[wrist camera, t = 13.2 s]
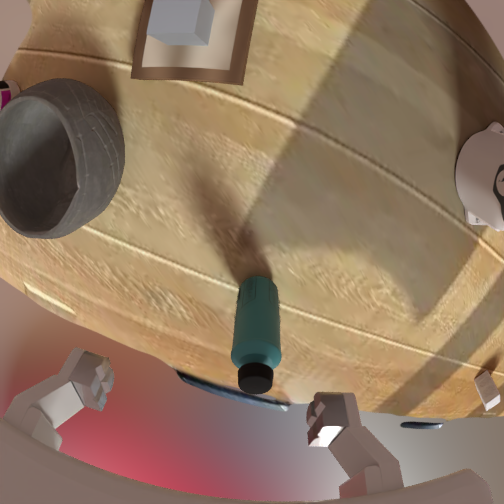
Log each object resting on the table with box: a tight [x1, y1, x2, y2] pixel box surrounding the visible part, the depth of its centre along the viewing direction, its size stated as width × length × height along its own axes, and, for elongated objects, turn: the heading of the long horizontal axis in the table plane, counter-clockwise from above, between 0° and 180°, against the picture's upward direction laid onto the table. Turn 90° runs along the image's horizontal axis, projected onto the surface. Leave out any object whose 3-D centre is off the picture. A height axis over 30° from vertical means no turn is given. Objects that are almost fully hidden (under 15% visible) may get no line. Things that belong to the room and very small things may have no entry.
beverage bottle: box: [231, 276, 281, 394], centre depth 39 cm, size 6×7×20 cm
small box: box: [474, 370, 500, 411], centre depth 58 cm, size 8×6×10 cm
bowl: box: [0, 78, 125, 239], centre depth 31 cm, size 21×21×15 cm
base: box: [131, 0, 258, 86], centre depth 28 cm, size 14×14×4 cm
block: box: [146, 0, 215, 46], centre depth 23 cm, size 5×5×7 cm
